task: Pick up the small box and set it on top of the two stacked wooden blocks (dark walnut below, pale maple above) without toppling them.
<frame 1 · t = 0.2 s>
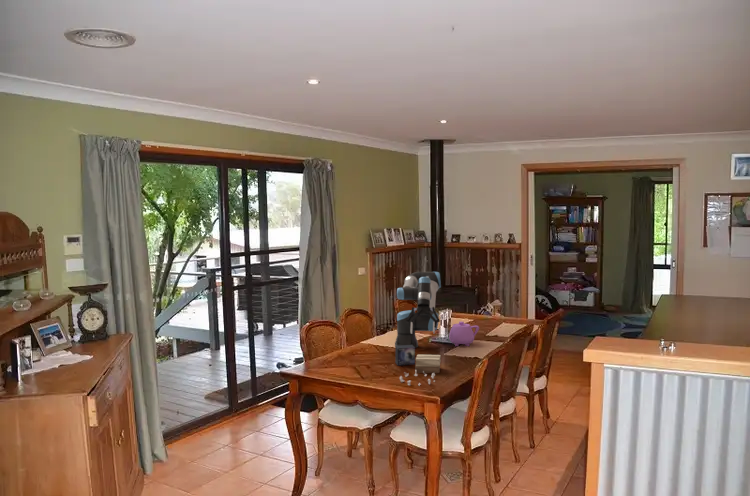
hand: (422, 332, 347), 16 cm above the table, tool tilted 35°, fingers open, 13 cm apart
tower top block: (428, 364, 322), point 4 cm above the table, touching tower base block
small box: (405, 364, 337), on the table
game piece set: (417, 381, 305), on the table
tower base block: (427, 371, 323), on the table, touching tower top block
teapot: (463, 343, 383), on the table
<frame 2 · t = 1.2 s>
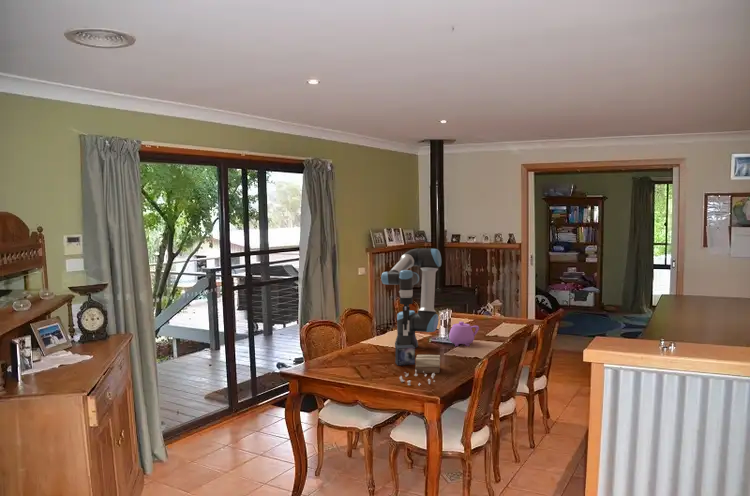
hand: (406, 333, 336), 18 cm above the table, tool pointing down, fingers open, 13 cm apart
nothing on the table moved.
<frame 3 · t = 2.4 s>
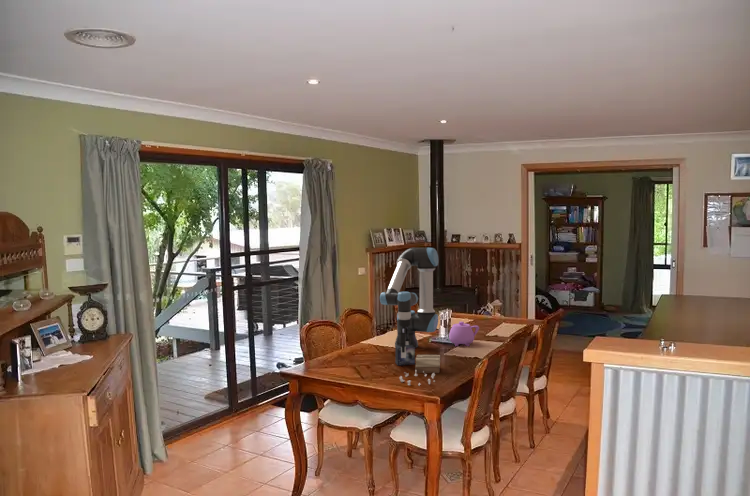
hand: (404, 355, 336), 5 cm above the table, tool pointing down, fingers open, 13 cm apart
nothing on the table moved.
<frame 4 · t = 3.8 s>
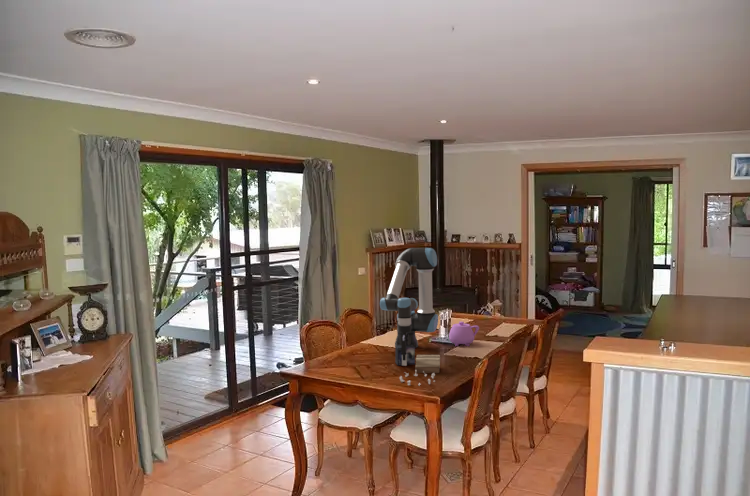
hand: (405, 363, 337), 0 cm above the table, tool pointing down, fingers closed on small box, 8 cm apart
small box: (405, 364, 337), on the table, touching gripper
everything else where it was.
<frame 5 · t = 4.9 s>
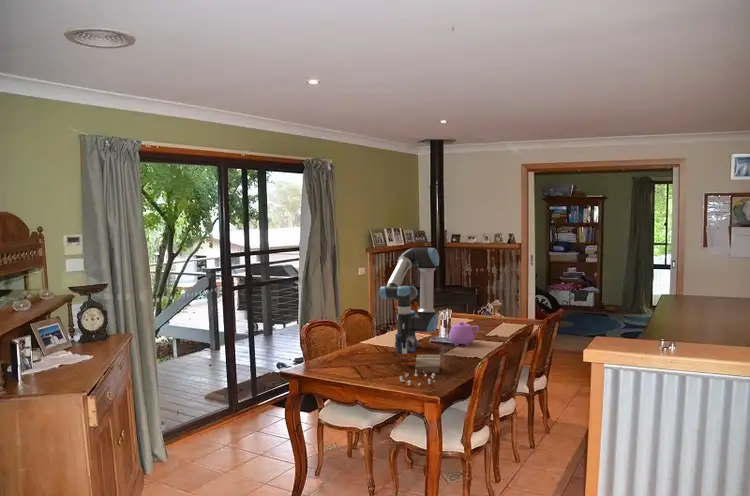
hand: (405, 351, 337), 7 cm above the table, tool pointing down, fingers closed on small box, 8 cm apart
small box: (405, 352, 337), point 7 cm above the table, touching gripper
everything else where it was.
when the fingers open (10 cm above the table, at t = 9.1 s): small box drops 2 cm, resting on tower top block.
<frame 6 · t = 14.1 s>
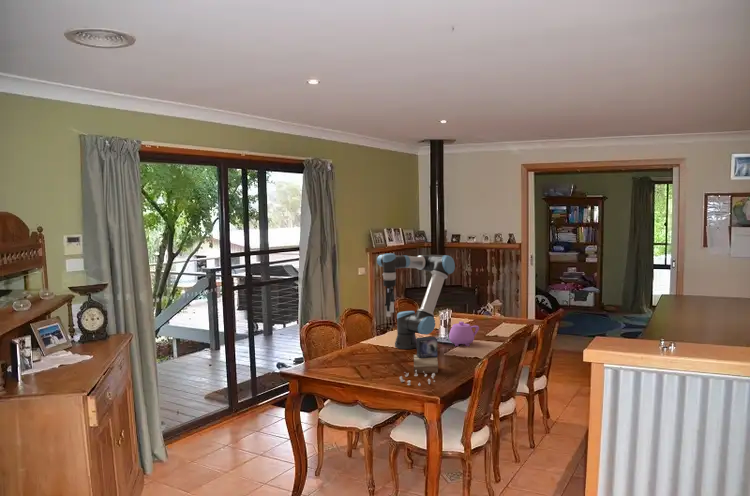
hand: (390, 314, 348), 27 cm above the table, tool pointing down, fingers open, 13 cm apart
tower top block: (425, 364, 323), point 4 cm above the table, touching small box, tower base block
small box: (427, 357, 323), point 7 cm above the table, touching tower top block
everything else where it was.
at the end: small box inside the target area on the tower top block (1.0 cm from its centre), point 3.8 cm above the tower top block's base; small box tilted 0°; tower top block moved 1.4 cm from its start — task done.
